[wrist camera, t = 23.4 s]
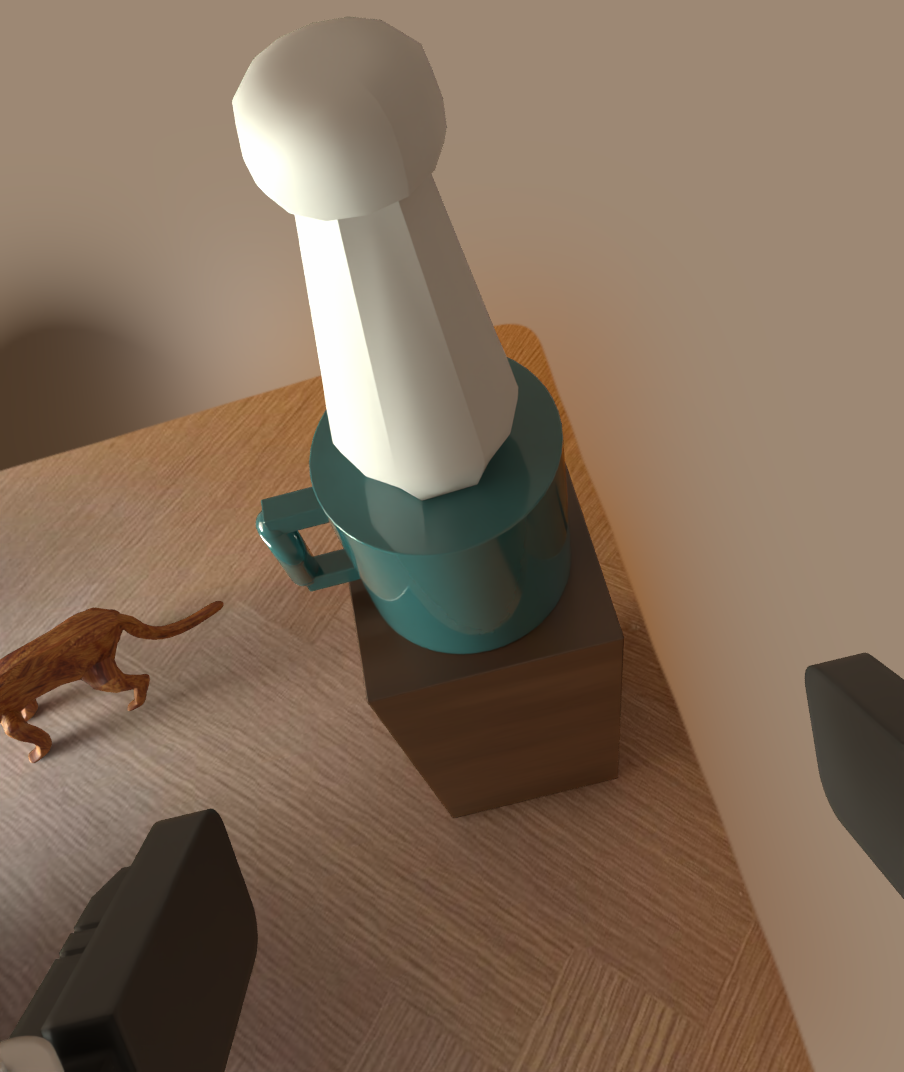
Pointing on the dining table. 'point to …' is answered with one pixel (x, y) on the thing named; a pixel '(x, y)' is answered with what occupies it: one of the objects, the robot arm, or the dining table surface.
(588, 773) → the stand
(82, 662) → the cat figurine
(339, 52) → the salt shaker
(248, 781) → the dining table surface
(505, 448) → the white-topped teal cylinder
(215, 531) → the dining table surface
